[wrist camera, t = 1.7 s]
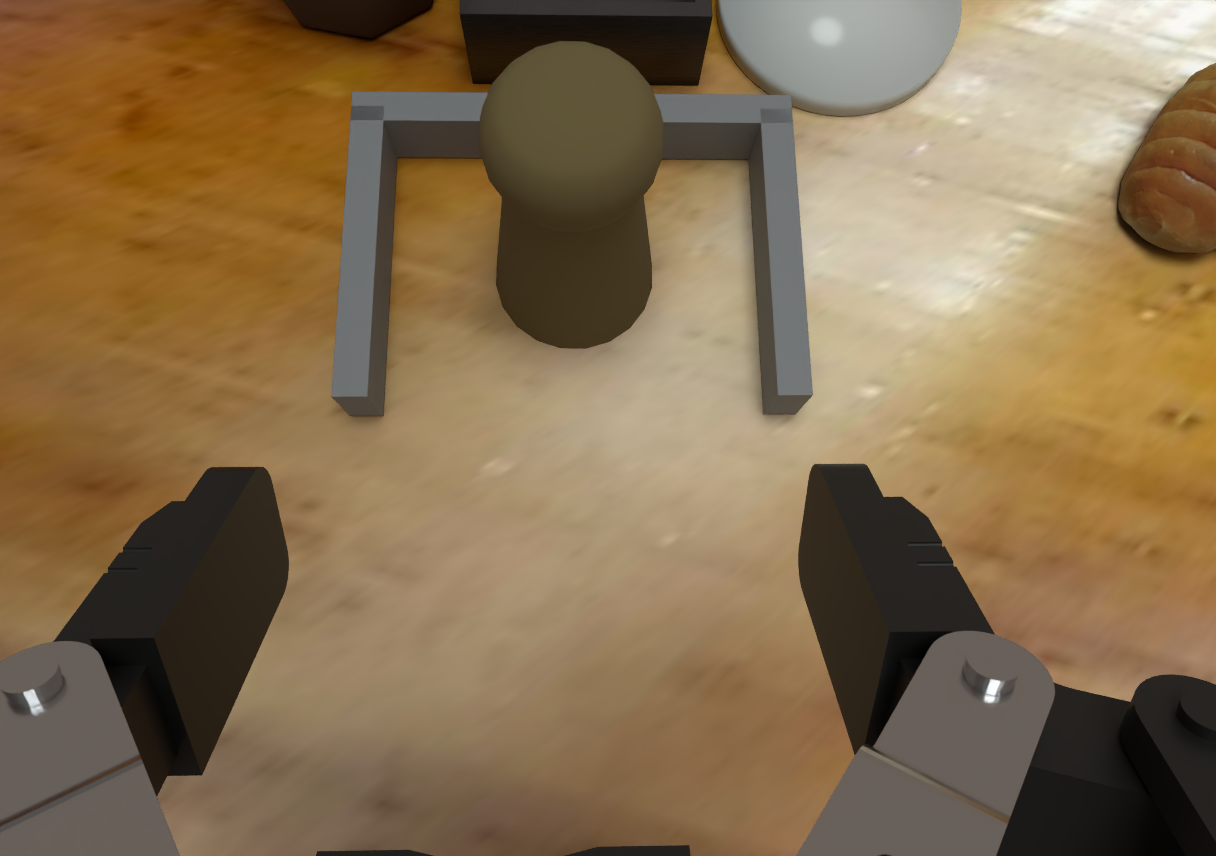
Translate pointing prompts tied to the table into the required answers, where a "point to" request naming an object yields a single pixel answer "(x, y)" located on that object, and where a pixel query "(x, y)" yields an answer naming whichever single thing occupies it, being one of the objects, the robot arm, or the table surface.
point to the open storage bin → (591, 33)
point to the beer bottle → (356, 14)
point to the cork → (572, 190)
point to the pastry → (1177, 172)
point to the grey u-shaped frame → (453, 132)
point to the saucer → (839, 49)
